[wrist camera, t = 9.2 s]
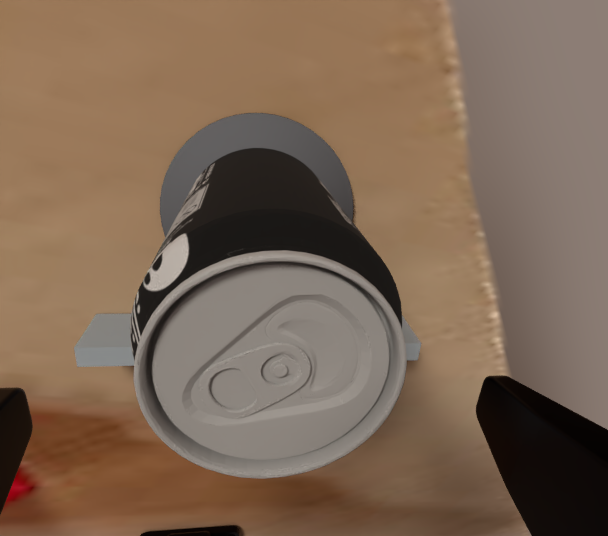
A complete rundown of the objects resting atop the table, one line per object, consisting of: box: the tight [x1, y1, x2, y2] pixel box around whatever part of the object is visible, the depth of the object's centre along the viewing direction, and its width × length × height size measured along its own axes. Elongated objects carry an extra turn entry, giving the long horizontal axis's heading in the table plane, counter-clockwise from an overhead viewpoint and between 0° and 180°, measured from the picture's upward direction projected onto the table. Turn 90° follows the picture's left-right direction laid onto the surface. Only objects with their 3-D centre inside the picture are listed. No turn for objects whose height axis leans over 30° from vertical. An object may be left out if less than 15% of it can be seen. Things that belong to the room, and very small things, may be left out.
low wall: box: [74, 314, 421, 367], centre depth 21 cm, size 1×16×3 cm, turn 85°
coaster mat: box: [160, 113, 353, 237], centre depth 20 cm, size 9×9×1 cm
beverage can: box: [130, 148, 407, 478], centre depth 14 cm, size 7×7×12 cm
